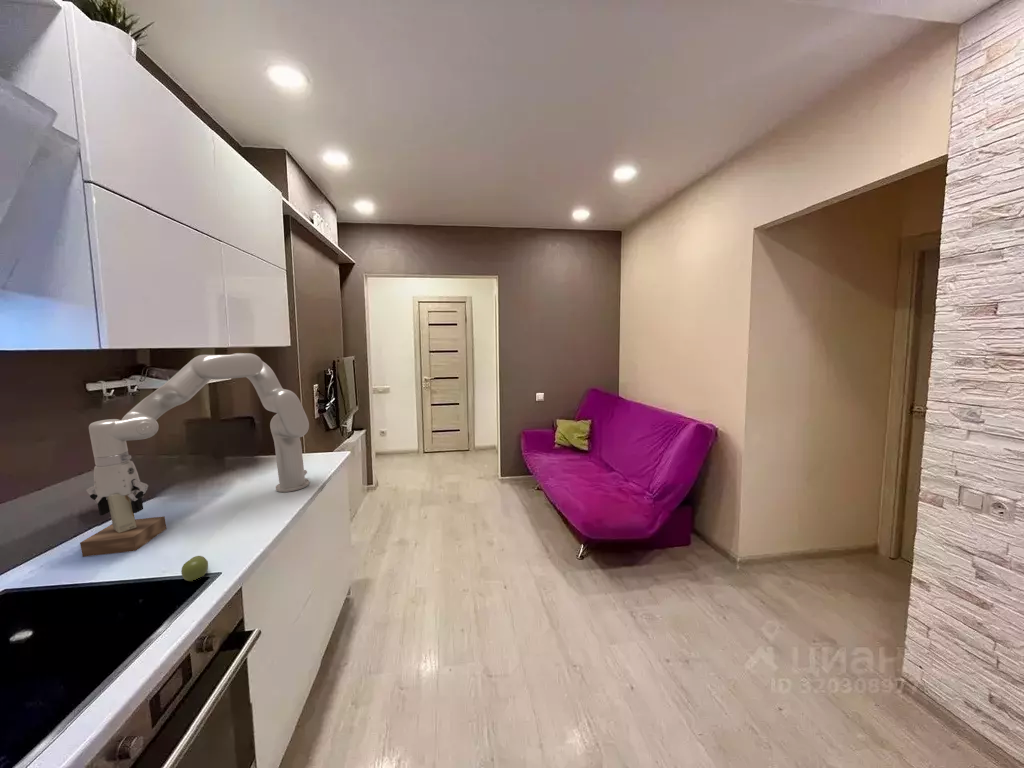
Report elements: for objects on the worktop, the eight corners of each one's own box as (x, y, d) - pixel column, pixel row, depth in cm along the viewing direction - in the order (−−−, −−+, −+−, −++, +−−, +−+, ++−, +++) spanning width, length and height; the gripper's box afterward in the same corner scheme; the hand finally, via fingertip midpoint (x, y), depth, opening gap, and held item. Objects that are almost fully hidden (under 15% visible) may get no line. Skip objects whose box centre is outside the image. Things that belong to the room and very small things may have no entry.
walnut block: (119, 535, 135) (117, 521, 134) (166, 530, 137) (164, 516, 137) (83, 558, 121) (79, 542, 121) (136, 552, 124) (133, 536, 123)
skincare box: (137, 527, 129) (130, 491, 127) (118, 533, 125) (111, 496, 123) (130, 522, 132) (124, 486, 130) (112, 528, 129) (105, 491, 127)
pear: (178, 566, 104) (183, 555, 112) (181, 587, 104) (186, 574, 112) (205, 559, 107) (209, 548, 115) (208, 579, 107) (211, 567, 115)
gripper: (151, 454, 130) (160, 505, 132) (94, 457, 129) (103, 509, 131) (131, 462, 122) (141, 515, 125) (70, 465, 121) (80, 519, 124)
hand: (121, 512), depth 128 cm, fingers open, 9 cm apart
